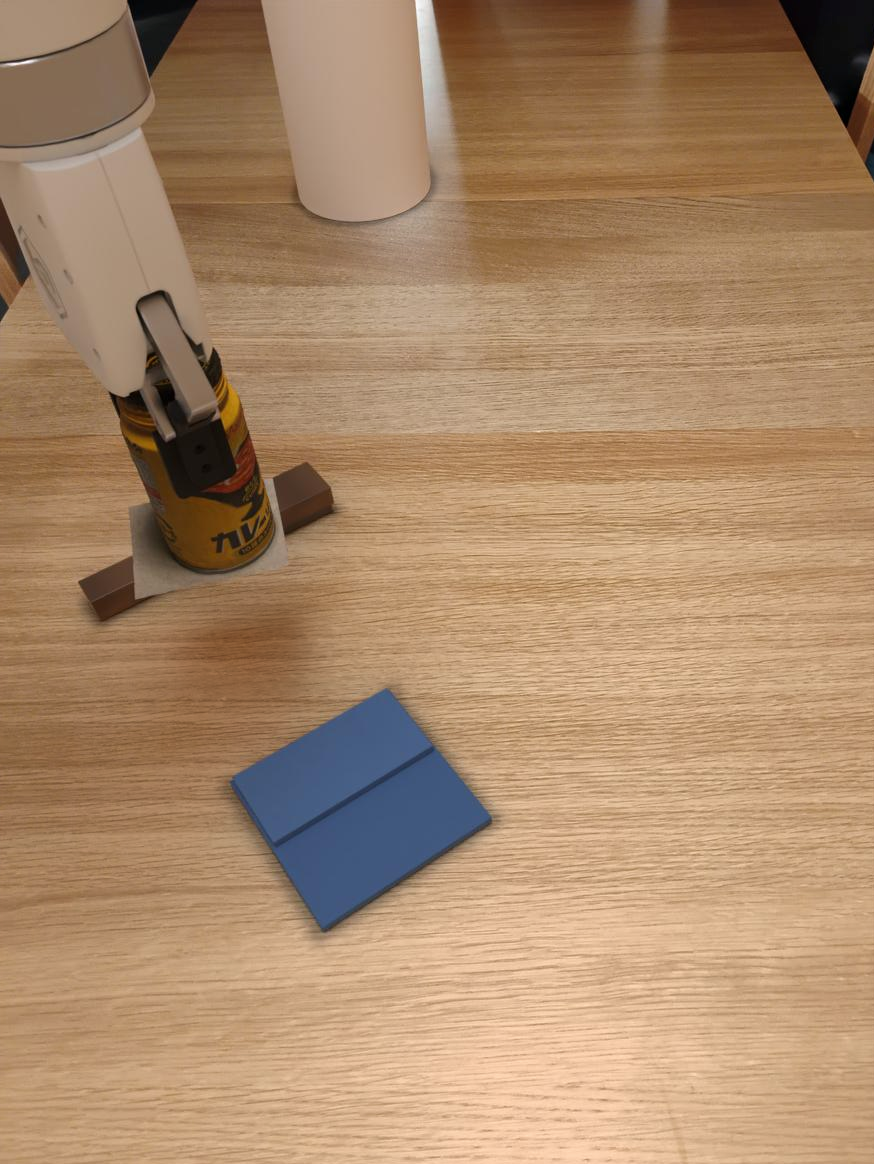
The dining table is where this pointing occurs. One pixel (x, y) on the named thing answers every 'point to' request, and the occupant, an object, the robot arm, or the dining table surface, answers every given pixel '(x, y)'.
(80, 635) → the dining table surface
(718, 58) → the dining table surface
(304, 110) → the canister
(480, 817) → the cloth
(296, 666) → the dining table surface
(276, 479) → the brown bar
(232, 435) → the condiment
